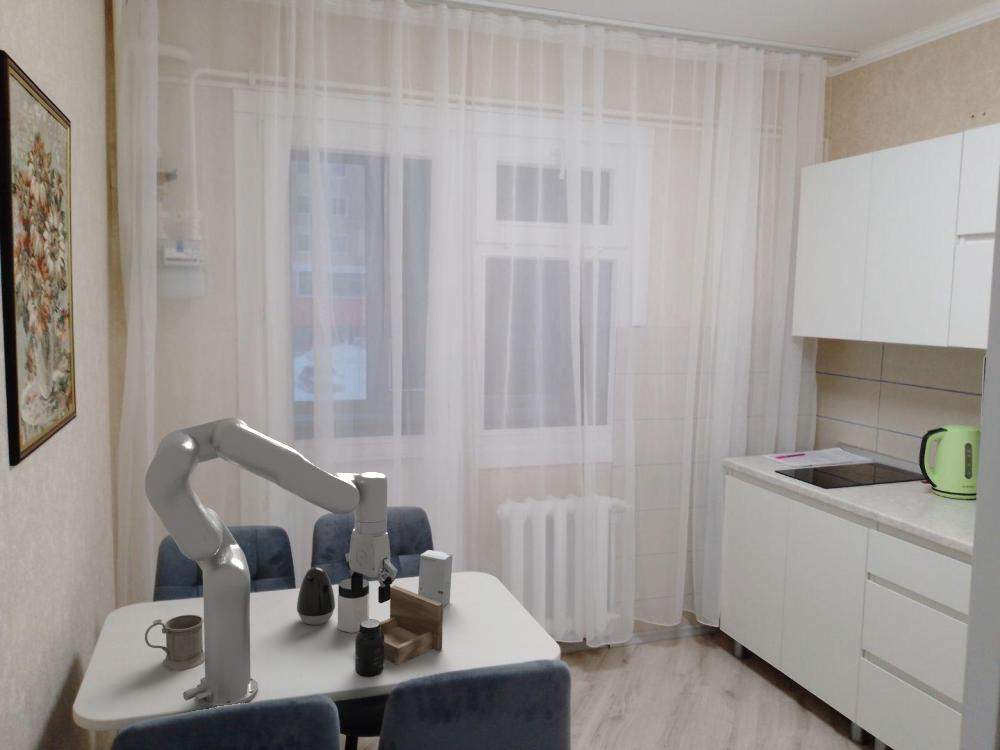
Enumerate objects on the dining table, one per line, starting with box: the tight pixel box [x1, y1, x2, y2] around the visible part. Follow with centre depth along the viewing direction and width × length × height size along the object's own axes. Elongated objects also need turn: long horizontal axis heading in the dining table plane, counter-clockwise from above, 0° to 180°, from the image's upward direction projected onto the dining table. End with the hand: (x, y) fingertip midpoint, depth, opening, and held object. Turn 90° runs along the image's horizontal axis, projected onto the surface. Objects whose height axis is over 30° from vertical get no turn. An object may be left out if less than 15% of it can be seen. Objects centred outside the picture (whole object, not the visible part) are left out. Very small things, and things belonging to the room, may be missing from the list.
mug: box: [144, 614, 205, 671], centre depth 179 cm, size 14×10×12 cm
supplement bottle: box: [354, 618, 385, 678], centre depth 178 cm, size 7×7×12 cm
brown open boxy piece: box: [379, 584, 444, 667], centre depth 190 cm, size 13×18×12 cm
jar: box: [337, 578, 370, 634], centre depth 202 cm, size 9×8×12 cm
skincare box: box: [417, 549, 454, 608], centre depth 218 cm, size 8×6×15 cm
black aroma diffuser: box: [296, 566, 336, 626], centre depth 204 cm, size 10×10×15 cm
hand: (370, 595), depth 177 cm, fingers open, 9 cm apart
